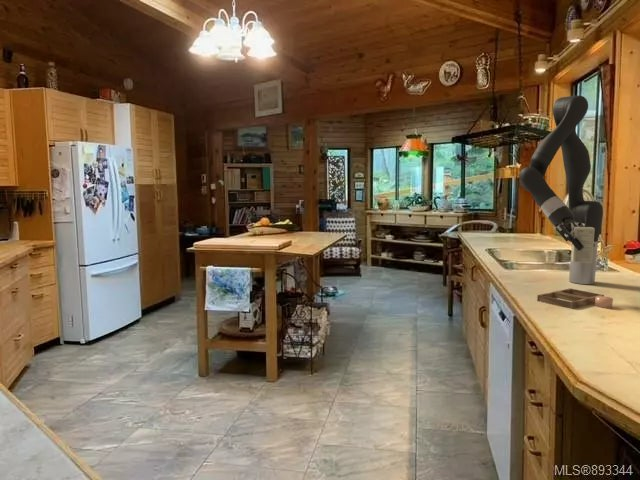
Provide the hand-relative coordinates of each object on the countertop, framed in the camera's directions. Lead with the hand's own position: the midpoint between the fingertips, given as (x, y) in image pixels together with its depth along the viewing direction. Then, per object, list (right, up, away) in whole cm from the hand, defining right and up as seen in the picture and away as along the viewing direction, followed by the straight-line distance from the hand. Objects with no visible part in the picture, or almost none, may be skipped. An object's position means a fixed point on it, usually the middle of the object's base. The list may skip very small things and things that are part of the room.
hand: (587, 248), depth 171 cm
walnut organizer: (-5, -18, 0) cm, 19 cm away
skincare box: (-1, -5, +2) cm, 5 cm away
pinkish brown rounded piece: (+2, -19, -7) cm, 21 cm away
